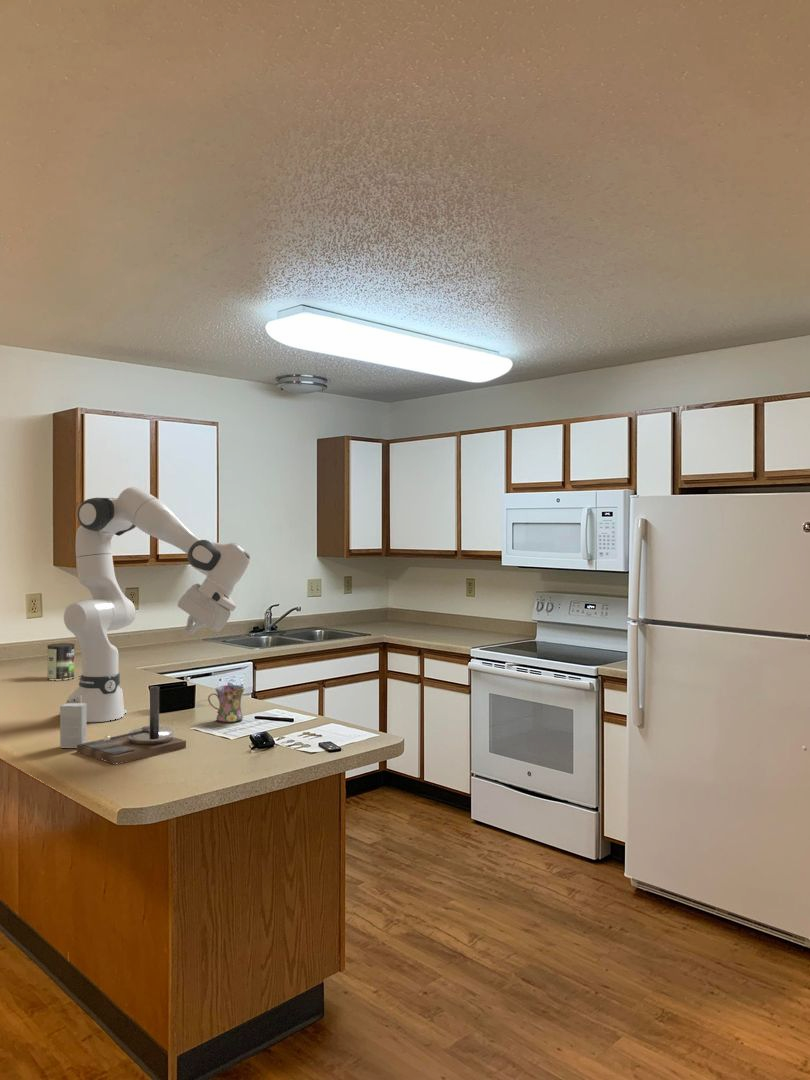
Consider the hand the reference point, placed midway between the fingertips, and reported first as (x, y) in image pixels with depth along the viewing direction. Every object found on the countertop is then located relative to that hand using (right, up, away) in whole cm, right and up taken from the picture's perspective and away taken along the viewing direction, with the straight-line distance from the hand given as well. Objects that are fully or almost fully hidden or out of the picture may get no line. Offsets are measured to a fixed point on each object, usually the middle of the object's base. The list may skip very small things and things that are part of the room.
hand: (188, 632), depth 241 cm
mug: (+7, -31, +18) cm, 37 cm away
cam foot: (-8, -28, -18) cm, 35 cm away
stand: (-11, -31, -17) cm, 37 cm away
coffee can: (-77, -30, +90) cm, 121 cm away
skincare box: (-28, -31, -15) cm, 44 cm away
